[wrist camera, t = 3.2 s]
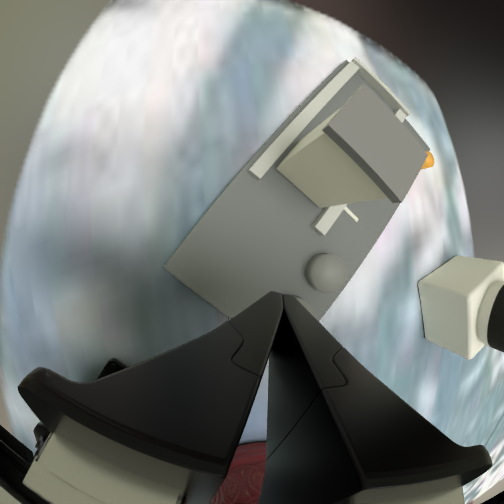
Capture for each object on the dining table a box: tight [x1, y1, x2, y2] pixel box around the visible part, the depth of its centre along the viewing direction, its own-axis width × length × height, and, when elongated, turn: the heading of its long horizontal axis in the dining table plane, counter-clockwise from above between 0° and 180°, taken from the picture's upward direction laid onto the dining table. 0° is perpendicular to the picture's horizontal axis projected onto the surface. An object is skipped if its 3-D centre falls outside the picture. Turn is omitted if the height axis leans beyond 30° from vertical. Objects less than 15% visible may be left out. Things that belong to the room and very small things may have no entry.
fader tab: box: [276, 84, 428, 208], centre depth 16 cm, size 3×5×10 cm
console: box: [163, 57, 434, 322], centre depth 20 cm, size 24×12×4 cm, turn 140°
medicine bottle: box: [418, 256, 504, 360], centre depth 19 cm, size 7×7×12 cm
